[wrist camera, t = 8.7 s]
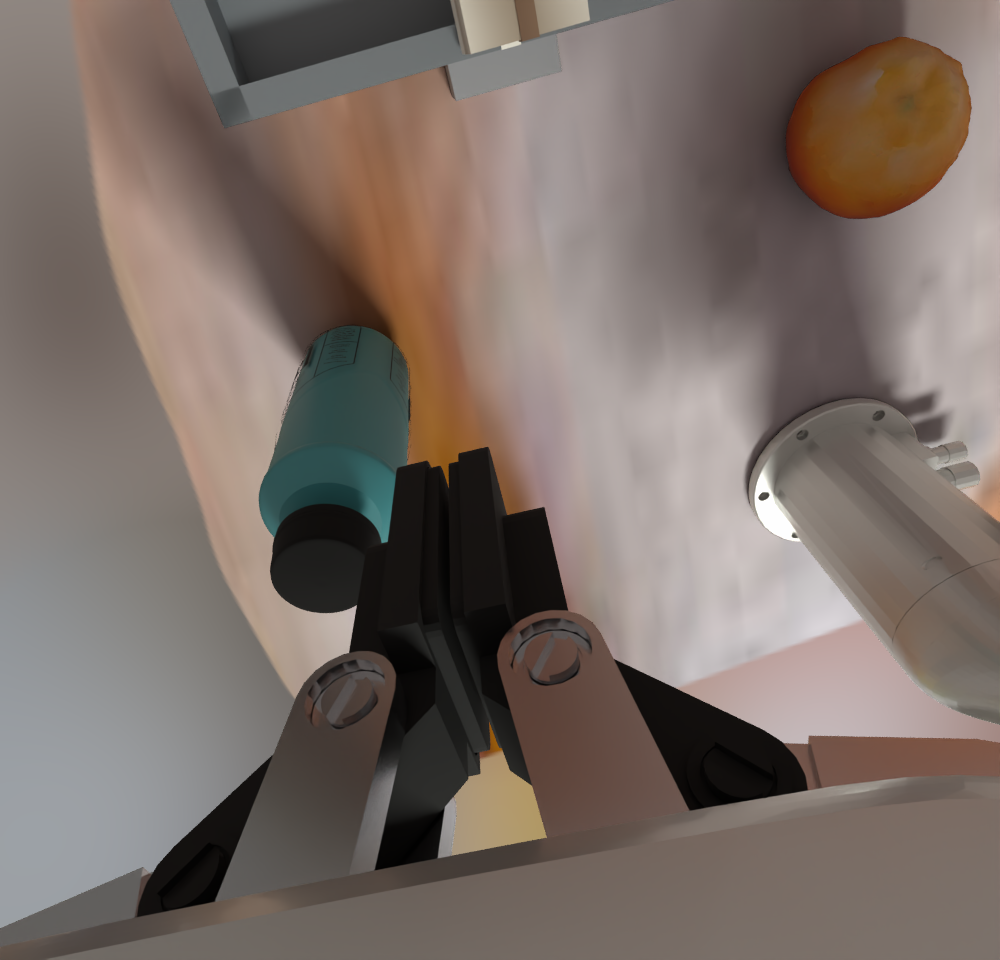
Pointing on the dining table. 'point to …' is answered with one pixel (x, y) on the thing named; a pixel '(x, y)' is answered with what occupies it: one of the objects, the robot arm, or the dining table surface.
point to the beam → (350, 49)
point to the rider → (512, 20)
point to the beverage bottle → (336, 467)
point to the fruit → (879, 128)
